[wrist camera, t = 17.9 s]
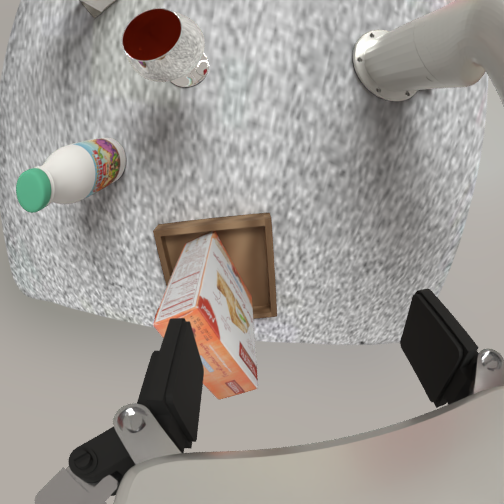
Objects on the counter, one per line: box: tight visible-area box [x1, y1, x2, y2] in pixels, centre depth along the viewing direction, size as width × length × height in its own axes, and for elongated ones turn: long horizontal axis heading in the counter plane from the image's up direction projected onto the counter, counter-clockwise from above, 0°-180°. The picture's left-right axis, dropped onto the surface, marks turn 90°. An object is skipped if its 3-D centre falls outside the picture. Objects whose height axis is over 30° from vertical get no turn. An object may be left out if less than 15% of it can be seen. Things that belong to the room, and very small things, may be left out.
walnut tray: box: [153, 213, 277, 319], centre depth 47 cm, size 18×18×3 cm
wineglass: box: [122, 8, 209, 87], centre depth 26 cm, size 8×8×18 cm
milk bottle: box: [16, 138, 126, 213], centre depth 31 cm, size 8×8×20 cm
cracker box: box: [152, 231, 258, 399], centre depth 38 cm, size 14×6×21 cm, turn 25°
